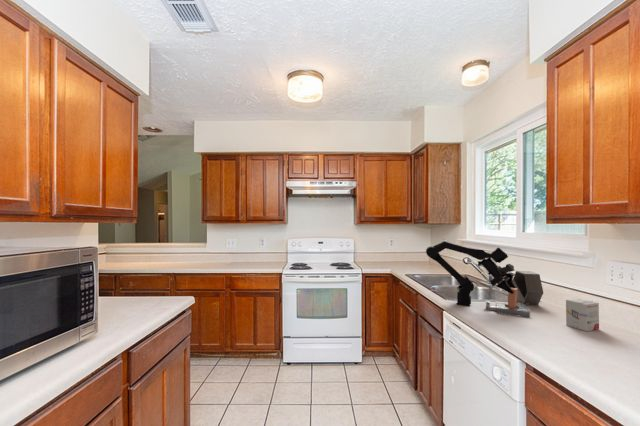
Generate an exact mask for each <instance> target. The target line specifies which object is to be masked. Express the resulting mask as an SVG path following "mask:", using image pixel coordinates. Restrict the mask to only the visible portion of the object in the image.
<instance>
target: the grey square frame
mask: <svg viewBox="0 0 640 426" xmlns="http://www.w3.org/2000/svg"><path fill="white" fill-rule="evenodd" d="M495 307H497V311H496V313H497V314H501V313H502V315H503V314H504V315H511V316H517V317H527V318H530V316H531V312H530V310H529V308H528V306H527V304H522V303H517V308H509V307H508V302H503V301H495Z"/></svg>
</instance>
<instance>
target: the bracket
mask: <svg viewBox="0 0 640 426" xmlns="http://www.w3.org/2000/svg"><path fill="white" fill-rule="evenodd" d="M490 302H491V301H489V300H485V304H486V305H485V310H486V309H487V311H493V310H494V311H495V312H497V307H496V305H495V306H493V305H491V303H490Z"/></svg>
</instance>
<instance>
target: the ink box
mask: <svg viewBox="0 0 640 426" xmlns="http://www.w3.org/2000/svg"><path fill="white" fill-rule="evenodd" d="M599 305H600V304H599V302H596V301H593V300H587V299H582V298H573V299H566V300H565V319H566V320H565V321H566V322H565V323H566V324H565V325H566V326H567V327H571V328H575V329H578V330H581V331H584V332H590V331H591V332H592V331H596V330H597V331H598V330H599V329H600V314H599V313H600V310H599V309H600V306H599Z"/></svg>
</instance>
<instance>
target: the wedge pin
mask: <svg viewBox="0 0 640 426" xmlns="http://www.w3.org/2000/svg"><path fill="white" fill-rule="evenodd" d="M511 289H512V291H513V292H514V293H513V294H511V293H509V292H507V293H508V296H507V303H508V307H509V308H517V304H518V301H517V295H518V289H517V288H512V287H511Z"/></svg>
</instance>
